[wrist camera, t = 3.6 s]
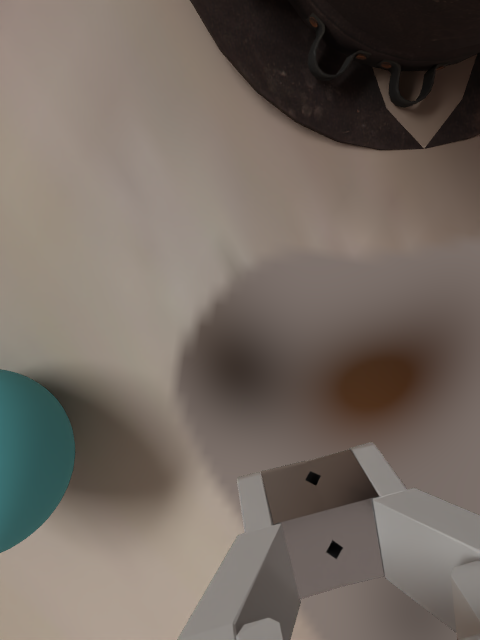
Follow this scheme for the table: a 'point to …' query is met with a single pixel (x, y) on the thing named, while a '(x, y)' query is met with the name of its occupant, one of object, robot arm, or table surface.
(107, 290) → the table surface
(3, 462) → the ball
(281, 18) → the top hat
